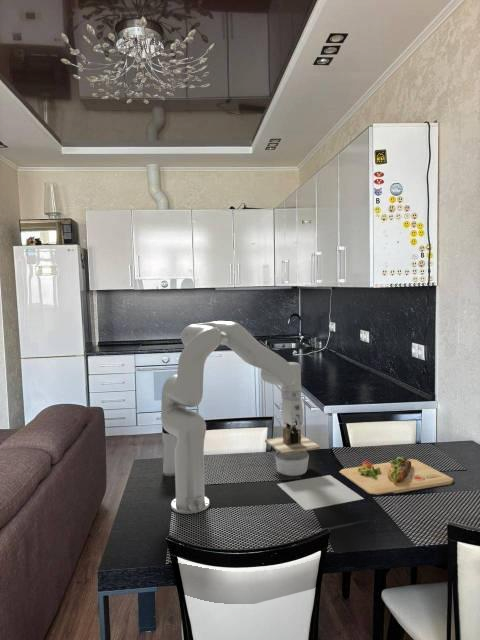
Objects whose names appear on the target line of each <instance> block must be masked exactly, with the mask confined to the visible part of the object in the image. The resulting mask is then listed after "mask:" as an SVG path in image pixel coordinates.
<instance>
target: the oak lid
mask: <svg viewBox="0 0 480 640" xmlns="http://www.w3.org/2000/svg"><path fill="white" fill-rule="evenodd" d="M294 428H295V427H293V429H294ZM290 433H291V427H285V426H284V427H282V436H281V437H275V438H268V439H265V440H264V442H265V443H266V444H268V445H269V446H270V447H272V448H273V449H275V450H276V452H277V451H278V452H279V453H281V454H289V453H295V452H302V451H305V452H307V451H314V450H320V449H322V448H321V446H320V445H319V444H318V443H315V441H313V440H311V439H309V438H307V437H306V436H304V435H302V428H301V429H300V430H299V433H298V443H293V444H291V443H290Z"/></svg>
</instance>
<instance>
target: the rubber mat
mask: <svg viewBox="0 0 480 640" xmlns="http://www.w3.org/2000/svg"><path fill="white" fill-rule="evenodd" d="M276 485H277V486H278V487H279V488H280V489H281V490H283V491H284V493H286V494H287V495H288V496H289V497H290V498H291V499H292V500H293V501H295V502H296V503H297V504H298V505H299V506H300V507H301V508H302V509H303V510H305V511H308V510H313V509H319V508H324V507H330V506H335V505H339V504H345V503H350V502H355V501H360V500H364V499H365V498H364V497H362V496H361V495H360V494H358V493H357V492H355V491H354V490H352V489H351V488H349V487H348V486H347V485H345V484H344V483H342V482H341V481H340V480H338V479H336V478H334V477H333V476H332V475H330V474H329V475H322V476H316V477H310V478H305V479H299V480H294V481H293V480H292V481H288V482H287V481H286V482H281V483H276Z"/></svg>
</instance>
